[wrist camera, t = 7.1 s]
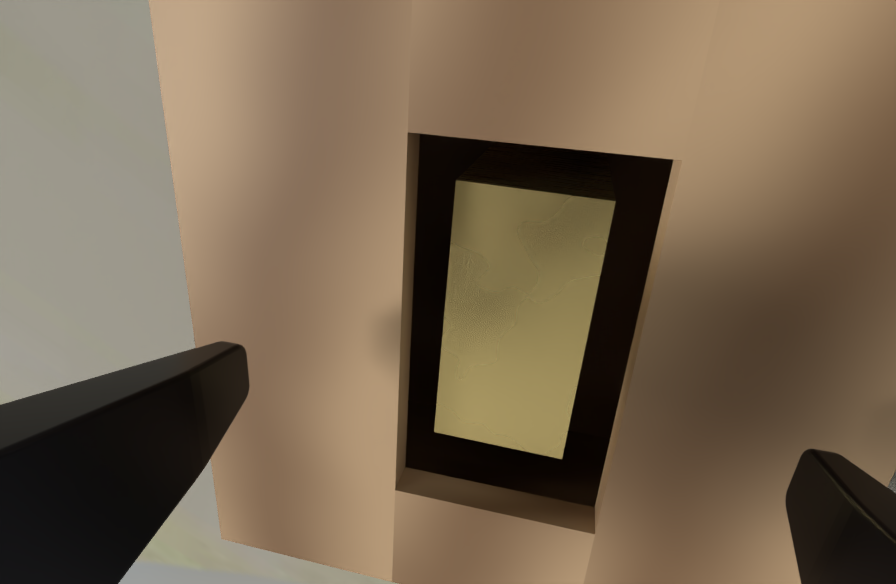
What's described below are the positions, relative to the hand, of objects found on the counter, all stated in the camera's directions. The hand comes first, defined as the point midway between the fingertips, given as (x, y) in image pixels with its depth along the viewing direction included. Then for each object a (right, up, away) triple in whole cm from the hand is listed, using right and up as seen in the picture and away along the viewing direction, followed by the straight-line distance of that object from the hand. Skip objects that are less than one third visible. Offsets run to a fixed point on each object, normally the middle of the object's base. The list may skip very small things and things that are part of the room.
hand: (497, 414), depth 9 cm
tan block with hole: (+2, +3, +8) cm, 9 cm away
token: (+2, +3, +8) cm, 9 cm away
